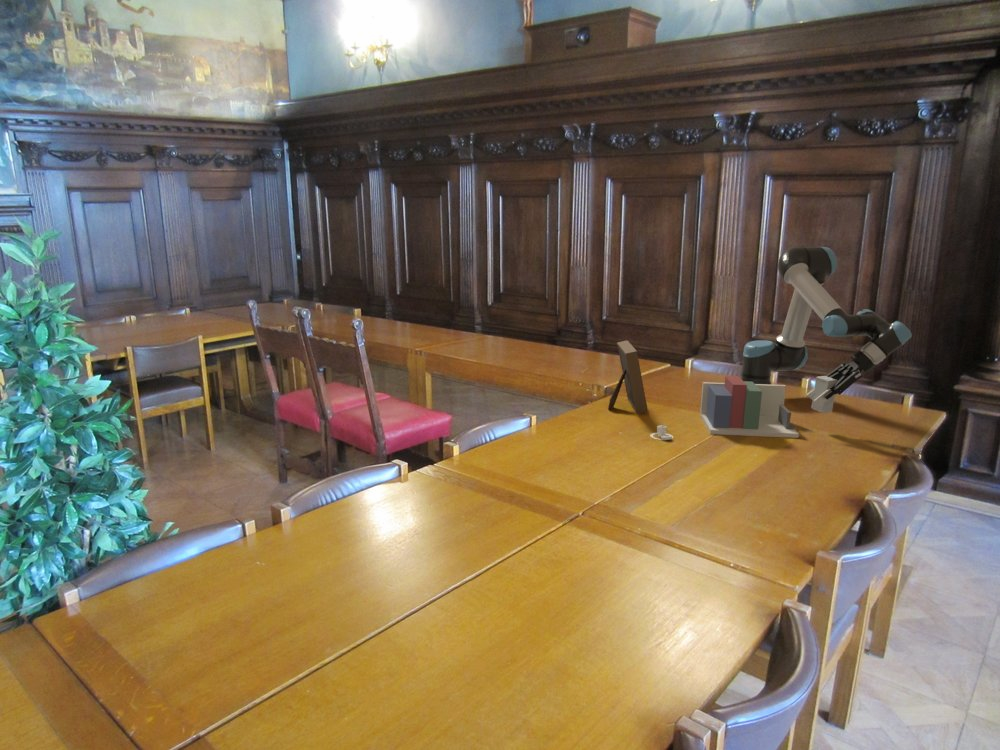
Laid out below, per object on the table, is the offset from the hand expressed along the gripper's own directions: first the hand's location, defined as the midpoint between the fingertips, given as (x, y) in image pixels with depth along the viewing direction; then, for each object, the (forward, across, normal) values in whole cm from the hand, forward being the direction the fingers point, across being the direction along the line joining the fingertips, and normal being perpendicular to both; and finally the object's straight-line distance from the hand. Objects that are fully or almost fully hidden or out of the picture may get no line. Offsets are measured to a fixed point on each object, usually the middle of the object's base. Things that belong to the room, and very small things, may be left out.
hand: (813, 400), depth 240 cm
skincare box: (0, 0, -5) cm, 5 cm away
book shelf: (+23, 0, +7) cm, 24 cm away
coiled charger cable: (+48, -17, +31) cm, 60 cm away
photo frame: (+54, +22, +37) cm, 69 cm away
